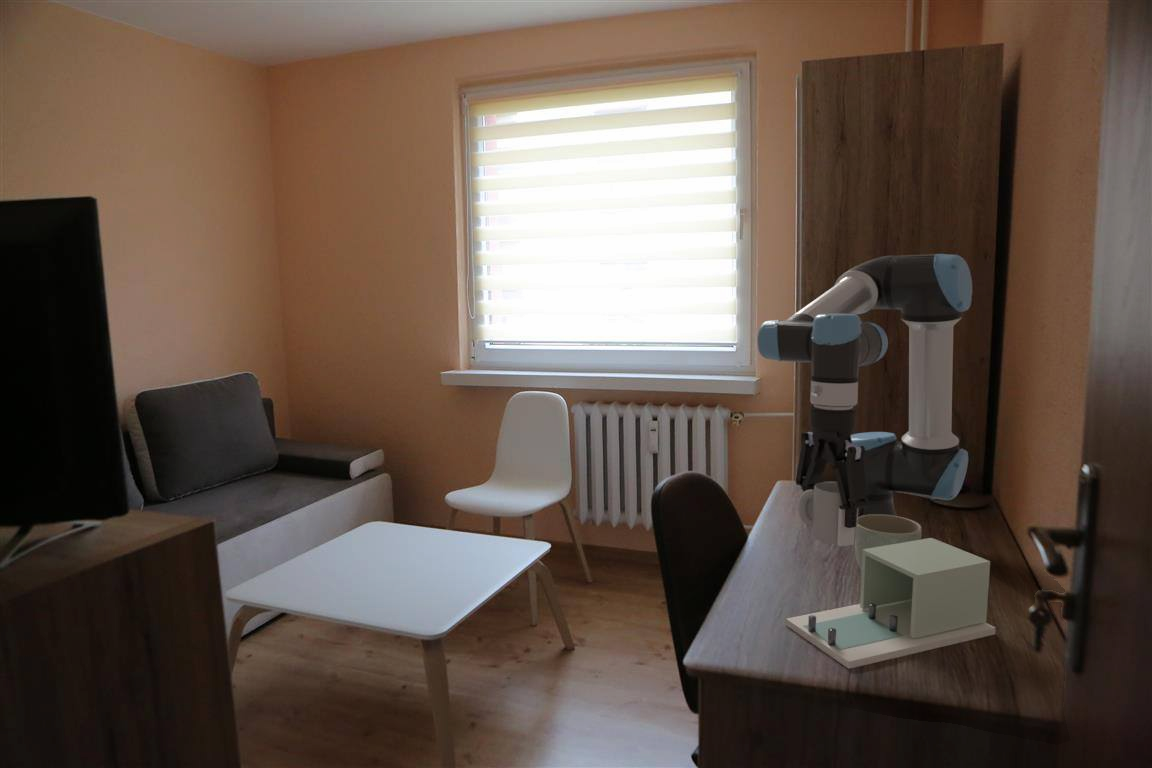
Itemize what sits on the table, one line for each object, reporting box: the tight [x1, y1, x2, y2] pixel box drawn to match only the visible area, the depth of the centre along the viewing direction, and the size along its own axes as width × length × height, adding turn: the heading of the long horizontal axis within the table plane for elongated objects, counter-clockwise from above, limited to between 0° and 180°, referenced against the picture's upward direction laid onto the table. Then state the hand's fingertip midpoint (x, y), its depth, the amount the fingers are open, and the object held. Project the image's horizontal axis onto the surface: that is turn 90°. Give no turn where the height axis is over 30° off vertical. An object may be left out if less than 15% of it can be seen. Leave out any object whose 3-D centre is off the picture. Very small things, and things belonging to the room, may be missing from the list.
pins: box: [808, 603, 898, 646], centre depth 127 cm, size 14×6×2 cm, turn 111°
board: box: [785, 599, 996, 669], centre depth 130 cm, size 30×16×1 cm, turn 111°
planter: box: [854, 514, 922, 570], centre depth 153 cm, size 12×12×11 cm
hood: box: [859, 537, 991, 638], centre depth 132 cm, size 16×13×11 cm
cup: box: [797, 481, 858, 546], centre depth 130 cm, size 7×10×9 cm
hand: (827, 536), depth 130 cm, fingers closed on cup, 9 cm apart
